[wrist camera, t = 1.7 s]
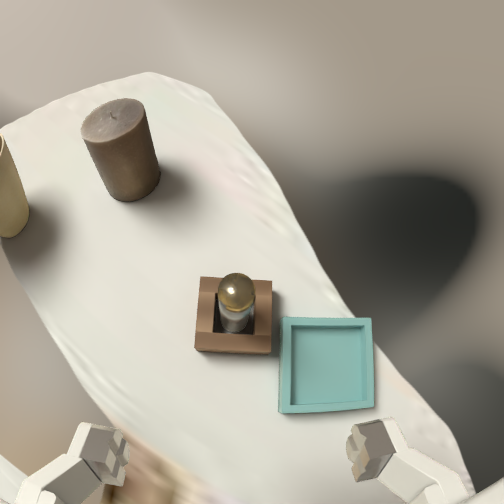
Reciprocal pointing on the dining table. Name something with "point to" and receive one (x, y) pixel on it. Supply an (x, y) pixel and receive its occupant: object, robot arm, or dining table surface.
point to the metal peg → (235, 301)
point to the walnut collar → (233, 342)
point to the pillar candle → (122, 148)
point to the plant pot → (11, 195)
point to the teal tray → (325, 364)
